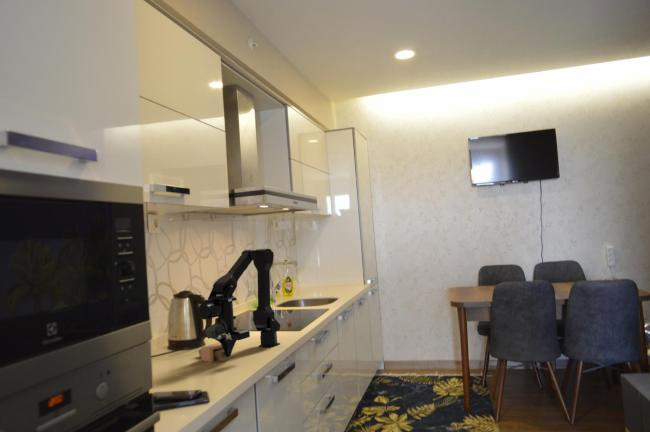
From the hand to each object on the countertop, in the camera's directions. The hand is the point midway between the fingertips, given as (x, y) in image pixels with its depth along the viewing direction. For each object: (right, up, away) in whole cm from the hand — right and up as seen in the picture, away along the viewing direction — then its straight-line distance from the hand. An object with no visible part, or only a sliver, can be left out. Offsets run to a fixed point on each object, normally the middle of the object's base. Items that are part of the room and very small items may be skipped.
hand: (228, 356), depth 175 cm
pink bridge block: (-6, -2, +5) cm, 8 cm away
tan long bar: (-7, -2, +5) cm, 9 cm away
